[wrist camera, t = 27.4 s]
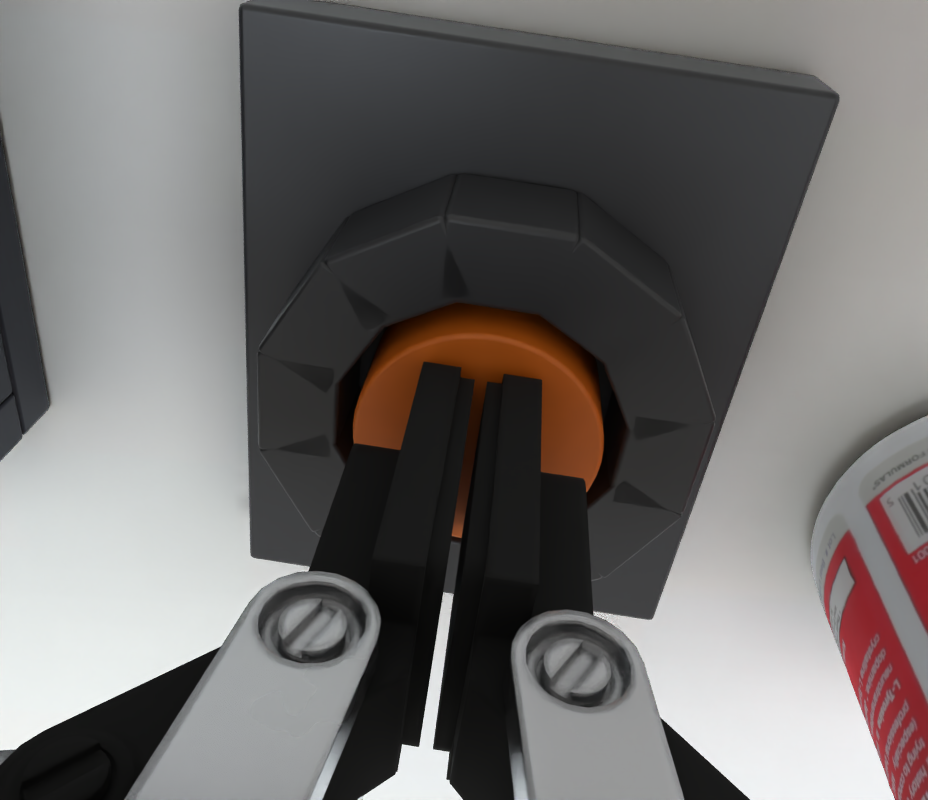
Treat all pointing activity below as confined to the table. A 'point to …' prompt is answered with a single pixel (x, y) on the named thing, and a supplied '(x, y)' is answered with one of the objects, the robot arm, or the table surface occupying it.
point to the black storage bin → (16, 332)
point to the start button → (486, 360)
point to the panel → (508, 243)
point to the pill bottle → (882, 596)
